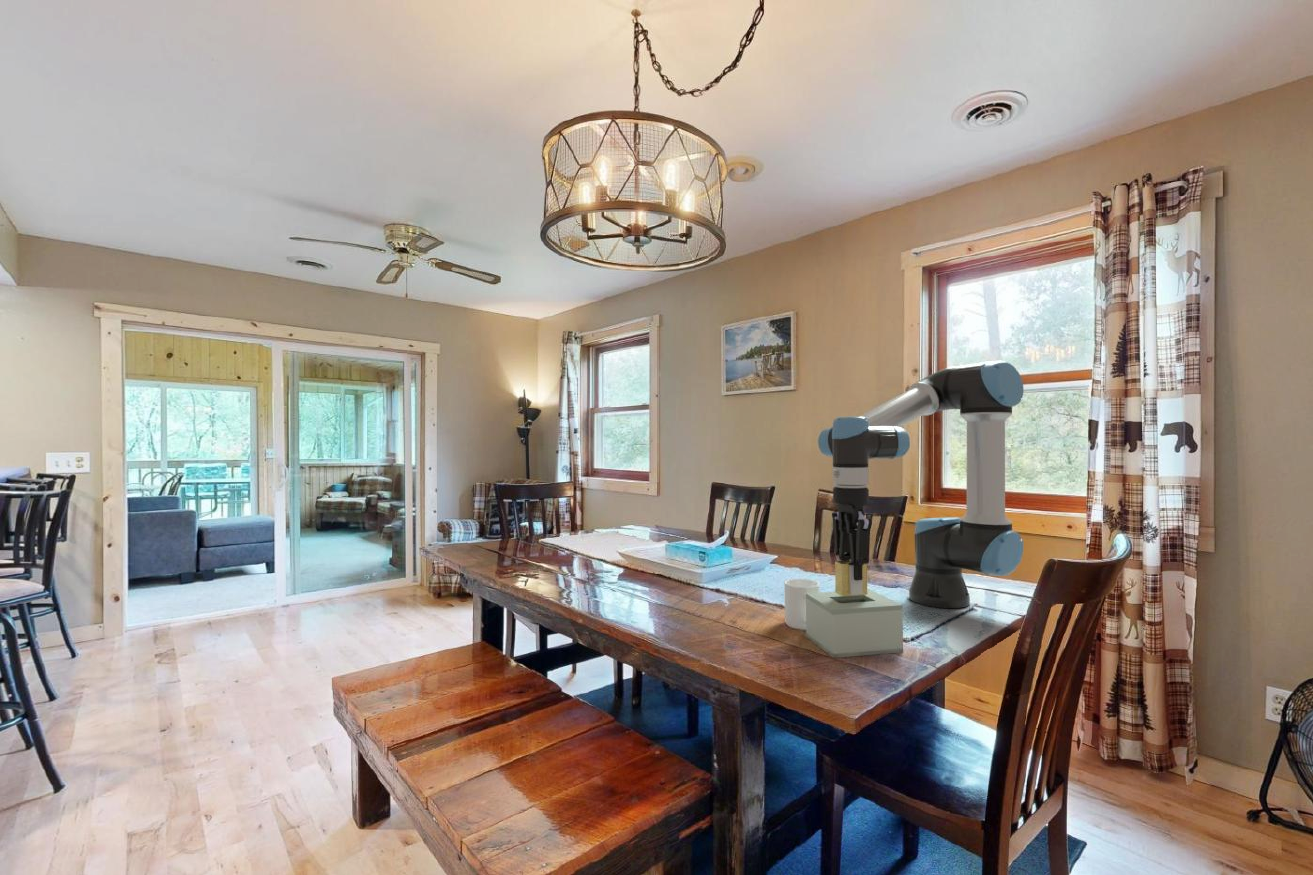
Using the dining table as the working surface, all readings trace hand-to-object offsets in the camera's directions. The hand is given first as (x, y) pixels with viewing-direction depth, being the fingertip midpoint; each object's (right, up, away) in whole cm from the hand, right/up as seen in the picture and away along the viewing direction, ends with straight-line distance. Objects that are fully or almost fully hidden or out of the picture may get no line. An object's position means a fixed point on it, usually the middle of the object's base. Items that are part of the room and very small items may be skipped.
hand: (851, 591), depth 126 cm
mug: (-7, -12, +12) cm, 18 cm away
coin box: (0, -12, 0) cm, 12 cm away
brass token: (0, 0, 0) cm, 0 cm away
